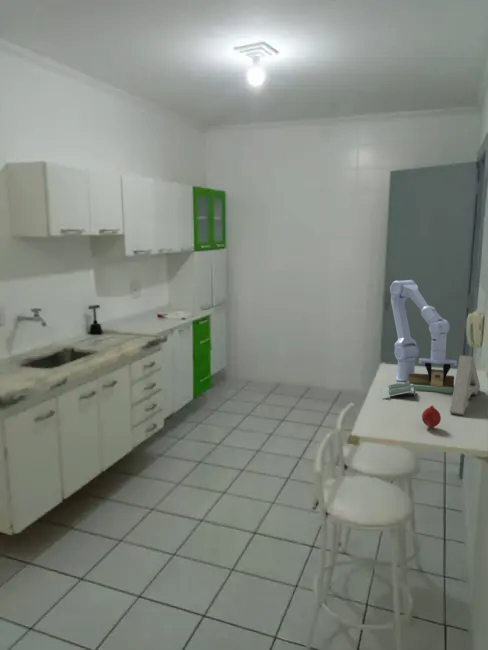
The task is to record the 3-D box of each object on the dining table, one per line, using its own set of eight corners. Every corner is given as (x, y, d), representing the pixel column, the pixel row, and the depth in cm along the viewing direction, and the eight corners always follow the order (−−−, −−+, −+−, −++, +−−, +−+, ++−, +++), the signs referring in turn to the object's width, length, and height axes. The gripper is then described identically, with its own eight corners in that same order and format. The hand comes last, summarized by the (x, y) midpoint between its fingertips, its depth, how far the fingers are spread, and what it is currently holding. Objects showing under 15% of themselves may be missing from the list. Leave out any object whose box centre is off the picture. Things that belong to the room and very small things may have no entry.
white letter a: (471, 438, 201) (463, 413, 178) (459, 435, 204) (449, 411, 181) (480, 386, 209) (472, 356, 186) (468, 384, 211) (460, 355, 188)
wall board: (408, 384, 219) (408, 372, 218) (453, 387, 214) (453, 375, 213) (408, 385, 218) (408, 373, 217) (453, 388, 212) (454, 376, 212)
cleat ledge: (410, 385, 217) (410, 380, 217) (450, 388, 213) (451, 383, 212) (411, 389, 211) (411, 385, 210) (452, 392, 206) (452, 388, 206)
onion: (418, 425, 170) (419, 402, 169) (435, 424, 171) (436, 401, 169) (425, 431, 165) (427, 408, 163) (443, 431, 165) (444, 407, 164)
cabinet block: (430, 384, 214) (431, 369, 213) (441, 384, 213) (442, 369, 212) (431, 388, 209) (431, 372, 208) (442, 388, 208) (443, 373, 207)
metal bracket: (413, 377, 209) (415, 387, 195) (416, 391, 209) (419, 401, 195) (378, 384, 213) (377, 395, 199) (382, 398, 214) (381, 409, 199)
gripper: (420, 350, 207) (418, 382, 210) (458, 352, 203) (456, 385, 206) (419, 346, 214) (417, 378, 216) (456, 348, 210) (454, 380, 212)
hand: (436, 381), depth 211 cm, fingers closed on cabinet block, 4 cm apart
